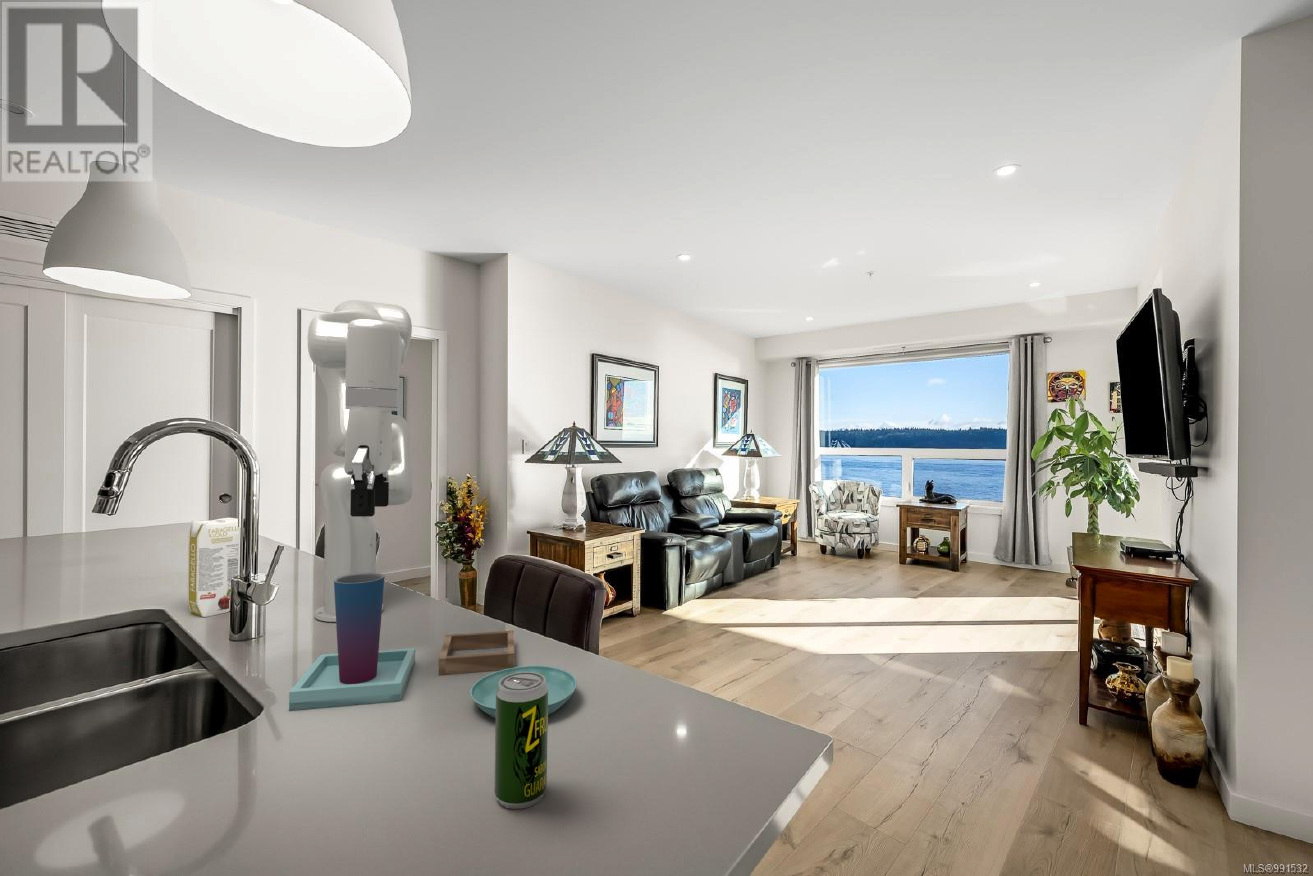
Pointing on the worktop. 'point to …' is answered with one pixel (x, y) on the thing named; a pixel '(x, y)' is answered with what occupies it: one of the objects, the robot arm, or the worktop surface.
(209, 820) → the worktop surface
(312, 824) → the worktop surface
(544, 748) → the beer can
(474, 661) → the holder
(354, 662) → the cup
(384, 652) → the tray
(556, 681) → the saucer
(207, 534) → the juice carton
